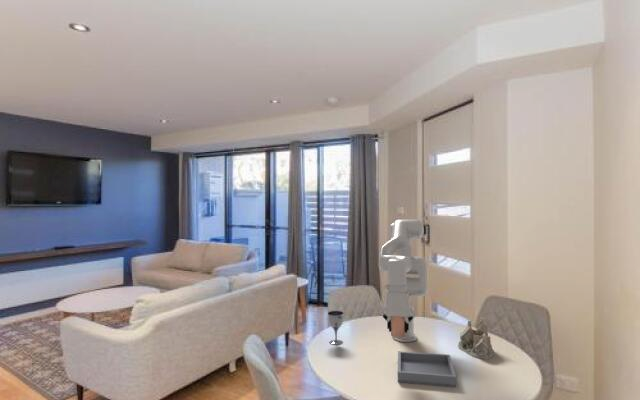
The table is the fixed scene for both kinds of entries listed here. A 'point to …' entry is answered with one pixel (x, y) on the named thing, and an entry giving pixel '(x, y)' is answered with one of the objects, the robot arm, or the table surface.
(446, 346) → the table surface
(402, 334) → the cup
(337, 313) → the wine glass
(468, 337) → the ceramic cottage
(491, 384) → the table surface
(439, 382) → the tray
